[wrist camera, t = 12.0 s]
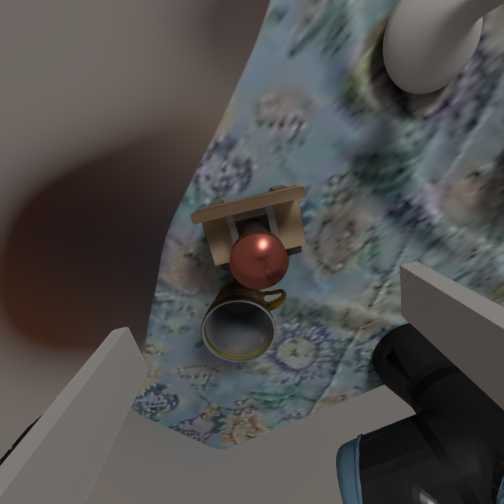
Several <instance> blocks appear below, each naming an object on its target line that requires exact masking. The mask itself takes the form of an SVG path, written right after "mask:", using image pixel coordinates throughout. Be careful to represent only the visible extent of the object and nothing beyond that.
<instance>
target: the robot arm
mask: <svg viewBox="0 0 504 504" xmlns="http://www.w3.org/2000/svg"><path fill="white" fill-rule="evenodd" d="M400 282H401V311H402V316H403V317H404V318H405V319H406V320H407V321H408V322H409V323H408V324H405V325H402V326H400V327H398V328H396V329H394V330H392V331H391V332H389V333H388V334H387V335H386V336H385V337H384V338H383V339H382V340H381V341H380V342H379V344H378V345H377V347H376V349H375V352H374V355H373V366H374V369H375V371H376V373H377V374H378V376H379V377H380V379H381V380H382V382H383V383H384V384H385V385H386V386H387V387H388V388H389V389H391V390H392V391H393V392H394V393H395V394H397V395H398V396H399V397H400V398H402V399H403V400H404V401H405V402H406V403H407V404H409V405H410V406H411V407H412V408H413V409H414V411H415V412H416V414H415V415H413V416H411V417H408V418H405V419H403V420H400V421H397V422H395V423H393V424H390V425H387V426H385V427H382V428H380V429H378V430H375V431H372V432H370V433H367V434H365V435H363V434H360V435H358V437H357V438H355V439H353V440H351V441H349V442H347V443H345V444H343V445H342V446H341V447H340V448H339V450H338V452H337V457H336V468H337V477H338V482H339V488H340V493H341V496H342V501H343V504H504V307H502V306H500V305H498V304H496V303H494V302H492V301H491V300H489V299H487V298H485V297H483V296H481V295H479V294H477V293H475V292H474V291H472V290H470V289H468V288H466V287H464V286H462V285H460V284H458V283H457V282H455V281H453V280H451V279H449V278H447V277H445V276H443V275H441V274H440V273H438V272H436V271H434V270H432V269H430V268H428V267H426V266H424V265H423V264H421V263H419V262H412V263H408V264H403V265H400ZM148 371H149V368H148V366H147V364H146V362H145V360H144V358H143V356H142V354H141V352H140V350H139V348H138V346H137V344H136V342H135V340H134V338H133V337H132V334H131V332H130V330H129V328H128V327H125V328H121V329H116V330H113V331H112V332H111V333H110V334H109V336H108V337H107V338H106V339H105V340H104V342H103V343H102V344H101V345H100V346H99V348H98V349H97V350H96V351H95V352H94V354H93V355H92V356H91V357H90V358H89V360H88V361H87V362H86V363H85V365H84V366H83V367H82V368H81V369H80V371H79V372H78V373H77V374H76V375H75V377H74V378H73V379H72V380H71V381H70V383H69V384H68V385H67V386H66V387H65V389H64V390H63V391H62V392H61V393H60V395H59V396H58V397H57V398H56V399H55V401H54V402H53V403H52V404H51V406H50V407H49V408H48V409H47V410H46V412H45V413H44V414H43V415H42V416H40V417H39V418H38V419H37V420H36V421H35V422H34V423H33V424H31V426H29V427H28V428H27V429H26V430H25V431H24V433H23V434H22V435H21V436H20V437H19V439H18V440H17V441H16V442H15V443H14V444H13V446H12V449H10V450H8V451H7V453H6V454H5V455H4V456H3V457H2V458H1V460H0V504H85V502H86V500H87V498H88V496H89V494H90V491H91V489H92V487H93V485H94V483H95V481H96V479H97V477H98V475H99V473H100V471H101V469H102V466H103V464H104V462H105V460H106V458H107V456H108V454H109V452H110V450H111V448H112V446H113V444H114V442H115V439H116V438H117V435H118V433H119V431H120V429H121V427H122V425H123V423H124V421H125V419H126V417H127V415H128V413H129V410H130V409H131V406H132V404H133V402H134V400H135V398H136V396H137V394H138V392H139V390H140V388H141V386H142V384H143V382H144V379H145V377H146V375H147V373H148Z"/></svg>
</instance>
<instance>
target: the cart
mask: <svg viewBox="0 0 504 504" xmlns="http://www.w3.org/2000/svg"><path fill="white" fill-rule="evenodd" d="M304 197H305V192H304V187H301V186H297V185H295V186H291V187H285V186H283V185H279V186H275V187H271V191H270V192H266V193H262V194H258V195H254V196H250V197H246V198H242V199H238V200H234V201H230V202H226V203H223V199H222V200H218V201H214V202H212V203H211V204H210V205H208V206H207V207H205V208H201V209H198V210H196V211H195V212H194V213H193V214H191V215H190V216H191V219H192V222H193V224H197V223H201V222H202V224H203V228H204V231H205V234H206V237H207V240H208V244H209V247H210V250H211V253H212V256H213V260H214V263H215V266H216V265H221V267H222V268H223V270H228V269H230V255H231V250H232V247H233V245H234V243H235V242H236V240H237V239H238V238H239V237H240V236H241V235H243V226H244V223H245V222H246V221H247V220H249V219H251V218H258V219H260V220H261V221H263V223H264V225H265V227H266V230H267V231H268V232H270V233H272V234H274V235H275V236H277V237H278V238H279V239H280V240H281V242H282V244H283V245H284V247H285V249H286V252H287V255H292V254H297V253H301V246H302V245H306V242H305V236H304V230H303V224H302V218H301V212H300V207H299V201H298V199H300V198H304Z"/></svg>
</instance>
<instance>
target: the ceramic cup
mask: <svg viewBox="0 0 504 504" xmlns="http://www.w3.org/2000/svg"><path fill="white" fill-rule="evenodd" d="M279 293H282V295H281V296H280V297H278V298H277V299H275V300H273V301H270V302H266V301H264V299H263V298H264V296H266V295H274V294H279ZM285 299H286V292H285V291H284V290H282V289H278V290H274V291H265V292H261V291H259V290H258V289H252V288H248V287H246V286H244V285H242V284H241V283H239V282H238V281H237V280H236V279H234V280H232V281H231V282H230V283H228V284H227V285H225V286H224V287H223V288H222V289H221V291H220V293H219V294H218V296H217V297H216V299H215V301H214V302H213V303H212V305H211V306H210V308H209V310H208V311H207V313H206V315H205V317H204V320H203V322H202V326H201V335H202V339H203V342H204V344H205V345H206V347H207V348H208V349H209V351H210V352H212V353H213V354H214V355H216V356H217V357H219V358H221V359H223V360H226V361H231V362H246V361H251V360H254V359H256V358H258V357H260V356H262V355H263V354H264V353H266V352H267V351H268V350H269V348H270V347H271V346H272V344H273V342H274V340H275V336H276V325H275V322H274V319H273V316H272V314H271V312H270V310H274V309H276V308H278V307H279V306H280V305H282V303H283V302H284V301H285Z"/></svg>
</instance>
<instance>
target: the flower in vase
mask: <svg viewBox="0 0 504 504" xmlns="http://www.w3.org/2000/svg"><path fill="white" fill-rule="evenodd" d="M502 4H504V0H400V1H399V2H398V4H397V5H396V7H395V8H394V10H393V12H392V14H391V16H390V18H389V21H388V23H387V26H386V29H385V34H384V39H383V58H384V63H385V67H386V70H387V72H388V74H389V76H390V78H391V79H392V81H393V82H394V83H395V84H396V85H397V86H398V87H399V88H401V89H402V90H404V91H406V92H409V93H412V94H427V93H431V92H434V91H437V90H439V89H441V88H443V87H444V86H446V85H447V84H449V83H450V82H451V81H452V80H453V79H454V78H455V77H456V76H457V75H458V74H459V73H460V72H461V71H462V70H463V69H464V68H465V66H466V65H467V64H468V62H469V61H470V59H471V58H472V56H473V54H474V52H475V50H476V47H477V45H478V42H479V39H480V35H481V30H482V21H483V16H484V15H486V14H487V13H488V12H490V11H492V10H493V9H495V8H497V7H498V6H500V5H502Z"/></svg>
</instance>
